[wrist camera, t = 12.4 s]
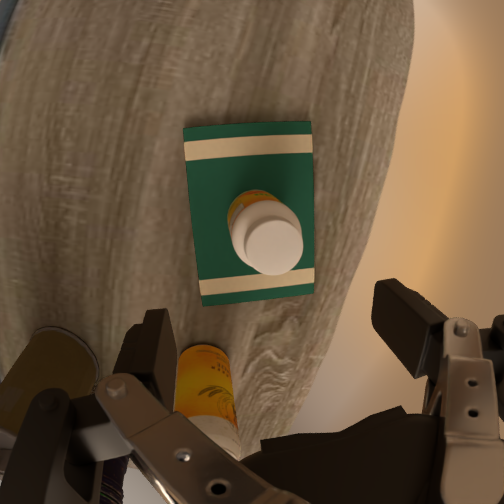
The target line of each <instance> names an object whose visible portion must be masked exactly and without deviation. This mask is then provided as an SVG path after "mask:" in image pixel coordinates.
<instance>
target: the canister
mask: <svg viewBox="0 0 504 504" xmlns="http://www.w3.org/2000/svg"><path fill="white" fill-rule="evenodd" d="M98 376H99V368H98V364H97V360H96V358H95V356H94V354H93V353H92V351H91V350H90V349H89V347H88V346H87V345H86V344H85V343H84V342H83V341H82V340H81V339H80V338H78V337H77V336H76V335H74V334H72V333H70V332H68V331H66V330H63V329H61V328H57V327H44V328H41V329H38V330H37V331H36V332H35V333H34V334H33V335H32V337H31V339H30V342H29V344H28V345H27V346H26V348H25V349H24V351H23V352H22V353H21V355H20V356H19V358H18V359H17V361H16V362H15V363H14V365H13V366H12V368H11V369H10V371H9V372H8V374H7V375H6V377H5V378H4V380H3V381H2V383H1V384H0V480H2V479H3V476H4V472H5V469H6V466H7V463H8V460H9V457H10V454H11V452H12V449H13V446H14V443H15V440H16V438H17V435H18V433H19V430H20V427H21V425H22V422H23V420H24V417H25V415H26V412H27V410H28V408H29V405H30V403H31V401H32V399H33V398H34V397H35V396H36V395H37V394H38V393H39V392H41V391H43V390H45V389H48V388H61V389H63V390H65V391H66V392H67V393H68V395H69V397H70V398H71V399H74V398H78V397H83V396H87V395H90V393H91V391H92V388H93V385H94V384H95V383H96V381H97V379H98Z"/></svg>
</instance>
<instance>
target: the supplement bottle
mask: <svg viewBox="0 0 504 504" xmlns="http://www.w3.org/2000/svg"><path fill="white" fill-rule="evenodd" d="M227 222H228V227H229V231H230V235H231V239H232V244H233V247H234V249H235V251H236V253H237V255H238V256H239V258H240V259H241V260H242V261H243V262H245V263H246V264H247V265H249V266H251V267H253V268H254V269H255V270H257V271H258V272H260V273H263V274H266V275H280V274H284V273H286V272H288V271H289V270H291V269H292V268H293V267H294V266H295V265H296V264H297V263H298V261H299V260H300V258H301V256H302V252H303V239H302V230H301V225H300V222H299V220H298V218H297V217H296V215H295V214H294V213H293V211H292V210H291V209H289V208H288V207H287V206H286V205H285V204H283V203H282V202H281V201H279V200H278V199H277V198H276V197H275V196H273V195H272V194H270V193H268V192H266V191H263V190H250V191H246V192H244V193H242V194H240V195H239V196H238V197H237V198H235V200H234V201H233V202H232V204H231V205H230V208H229V210H228V215H227Z"/></svg>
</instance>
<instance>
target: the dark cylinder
mask: <svg viewBox="0 0 504 504" xmlns="http://www.w3.org/2000/svg"><path fill="white" fill-rule="evenodd" d="M128 461H129V456H128V455H125V456H121V457H117V458H112V459H108V460H104V464H103V472H102V480H101V490H100V500H99V504H123V501H122V499H123V497H124V495H123V489H122V486H123V479H124V475H125V473H126V470H127V465H128Z"/></svg>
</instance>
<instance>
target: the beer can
mask: <svg viewBox="0 0 504 504" xmlns="http://www.w3.org/2000/svg"><path fill="white" fill-rule="evenodd" d="M175 411H179V412H180V413H182V414H183V415H184V416H185V417H186V418H188V419H189V420H190V421H191V422H192V423H193V424H194V425H195V426H197V427H198V428H199V429H200V430H201V431H202V432H203V433H205V434H206V435H207V436H208V437H209V438H210V439H212V440H213V441H214V442H215V443H216V444H218V445H219V446H220V447H221V448H223V449H224V450H225V451H226V452H228V453H229V454H230V455H231V456H233V457H234V458H235V459H236V460H239V458H240V456H241V447H240V440H239V433H238V426H237V418H236V411H235V404H234V396H233V388H232V380H231V373H230V364H229V360H228V357H227V356H226V355H225V353H224V352H223V351H221V350H220V349H218V348H216V347H213V346H210V345H196V346H193V347H190V348H188V349H187V350H185V351H184V352H183V353H182V354H181V356H180V357H179V360H178V369H177V381H176V393H175V406H174V412H175Z"/></svg>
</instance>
